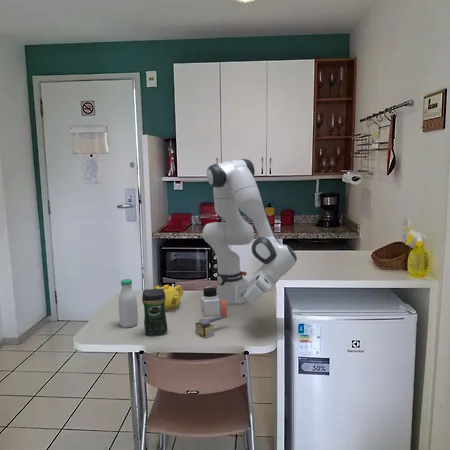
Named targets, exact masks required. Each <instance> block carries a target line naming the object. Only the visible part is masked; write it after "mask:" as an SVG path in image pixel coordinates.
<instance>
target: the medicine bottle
mask: <svg viewBox="0 0 450 450" xmlns="http://www.w3.org/2000/svg"><path fill="white" fill-rule="evenodd" d="M200 305H201V313H202V314H203V316H205V317H210V316H211V317H213V316H218V315H221V303H220V300H219V299H218V297H217V288H216V287H214V286H206V287H204V288H203V296H201V297H200Z"/></svg>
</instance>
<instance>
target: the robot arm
mask: <svg viewBox="0 0 450 450" xmlns="http://www.w3.org/2000/svg"><path fill="white" fill-rule="evenodd" d="M255 173H256V172H255V166H254V163H253V161H251V159H247V158H241V159H233V160H227V161H223V162H219V163H214V164H212V165H209V166H208V168H207V170H206V178H207V182H208V184H209V185H210V186H211V187H212V189H213V191H212V192H213V204H214V211H215V213H216V214H217V215H218V216H219V217H220V218H223V219H224V221H225V222H224V221H223V222H222V221H221V222H219V221H218V222H217V221H214V222H209V223H206V224H205V225H204V226H203V229H202V237H203V240H204V241H205V242H206V243H207V244H208V245H209V246H210V247H211V248H212V250H213V251H214V254H215V257H216V260H217V261H216V262H217V271H216V280H217V288H216V289H217V297H218V299H219V300H220V304H221V299H226V300H227V305H229V304H232V305H233V304H236V305H242V304H244V303H246V302H247V303H249V304H254V302H256V301H257V300H258V299H260V298H261V297H262V296H263V295H264V294H265V293H268V292H269V291H271V289H272V288H273V286H275V284H277V283H278V282H279V280H280V278H282V277H284V276H285V275H286V274H288V272H289V271H290V270H291V269H293V267H294V266H295V265H296V263H297V259H298V258H297V255H296V252H295V251H294V250H293V248H292V247H291V246H290V245H287V244H282V243H281V242H280V241H279V239H278V238H277V237H276V235H275V234H274V231H273V229H272V227H271V224H270V222H269V219H268V216H267V214H266V211H265V208H264V204H263V199H262V196H261V193H260V190H259V187H258V184H257V182H256V180H255V178H254V176H255ZM240 211H241V212H242V213H244V215H246V216H247V217H248V218H249V219H250V221H251V222H252V224H253V225H254V227H255V229H256V232H257V235H258V237H257V238H256V239H255V240H254V237H255V229H254V228H253V226H252V225H251V224H250V223H248V222H247V221H246V220H245V219H244V218H243V216H242V215H241V213H240ZM253 240H254V241H253ZM252 241H253V242H252ZM251 243H252V244H251ZM250 244H251V253H252V255H253V256H254V257H255V258H256V259H257V260H258V261H259V262H261V263H262V266H260V267H259V269H258V270H256V271H255V272H254V277H253V278H251V280H250V281H248V280H247V279H245V278H244V277H246V276H247V274H248V273H247V272H246V271H242V270H241V259H240V256H239V254H238V253H236V252H235V251H233V250H232V249H231V248H230V247H229V246H245V245H250Z"/></svg>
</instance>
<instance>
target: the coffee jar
mask: <svg viewBox="0 0 450 450" xmlns="http://www.w3.org/2000/svg"><path fill="white" fill-rule="evenodd" d="M160 288H161V287H160ZM165 300H166V296H165V292H164V289H163V288H161V289H155V288H151V289H143V290H142V296H141V301H142V305H143V311H144V313H143V314H144V316H143V317H144V320H143V332H144V334H145V335H146V336H148V337H149V336H162V335H165V334H167V333H168V331H169V330H168V322H167V317H166V316H167V315H166V311H165V305H164V304H165Z"/></svg>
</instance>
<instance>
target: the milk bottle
mask: <svg viewBox="0 0 450 450" xmlns="http://www.w3.org/2000/svg"><path fill="white" fill-rule="evenodd" d="M120 286H121V290H120V293H119V296H118V314H119V315H118V316H119V318H118V319H119V326H120V327H122V328H134V327H136V326H137V325H138V324H139V316H138V315H139V314H138V301H137V296H136V293H135V291H134V290H133V280H132V279H130V278H124V279H121V281H120Z"/></svg>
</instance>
